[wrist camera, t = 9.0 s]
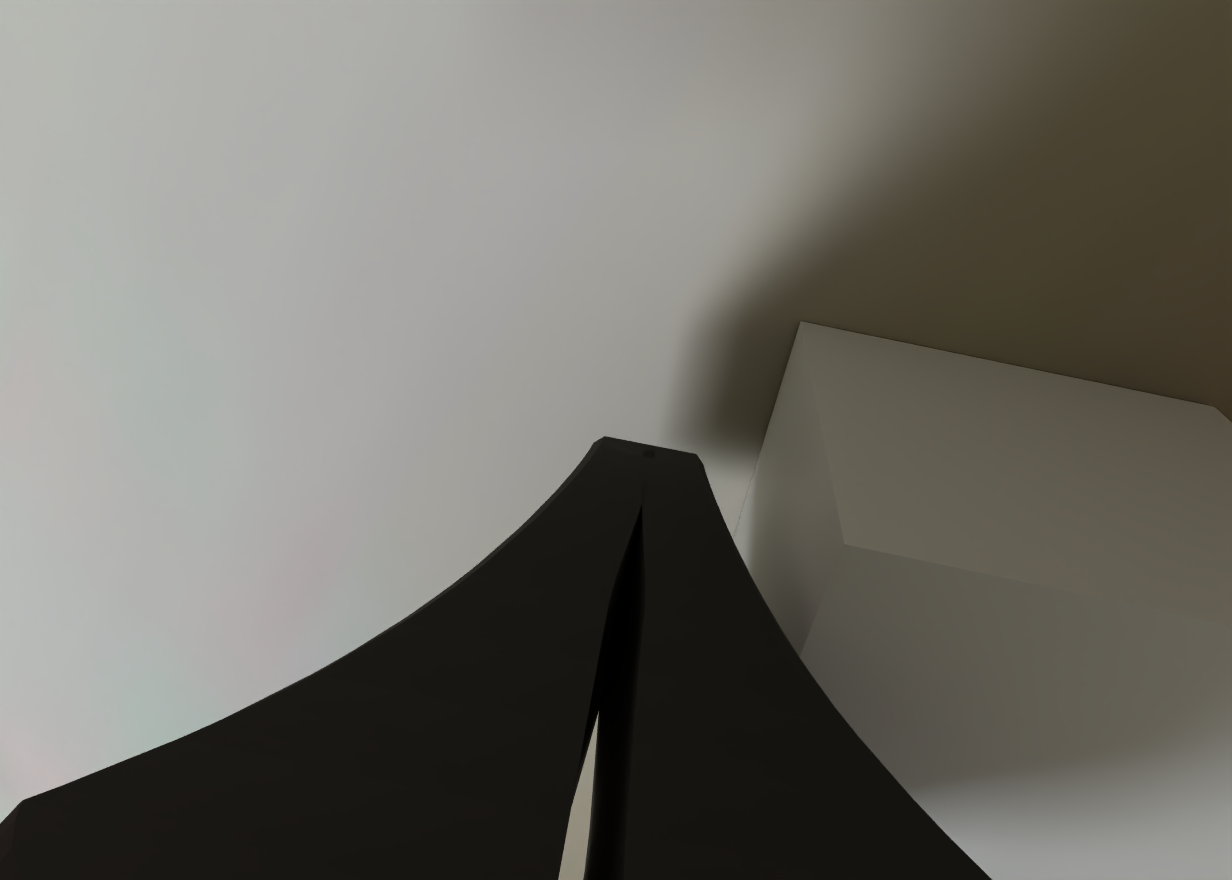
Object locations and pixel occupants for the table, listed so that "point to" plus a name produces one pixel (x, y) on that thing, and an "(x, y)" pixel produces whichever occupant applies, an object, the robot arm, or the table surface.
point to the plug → (1011, 598)
